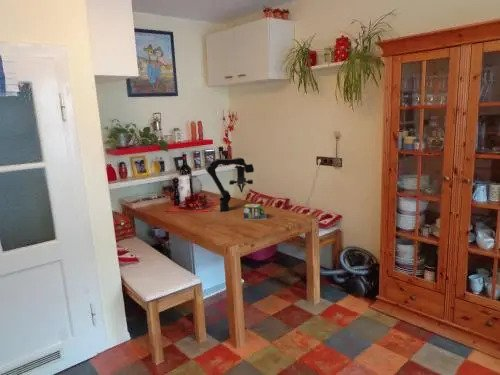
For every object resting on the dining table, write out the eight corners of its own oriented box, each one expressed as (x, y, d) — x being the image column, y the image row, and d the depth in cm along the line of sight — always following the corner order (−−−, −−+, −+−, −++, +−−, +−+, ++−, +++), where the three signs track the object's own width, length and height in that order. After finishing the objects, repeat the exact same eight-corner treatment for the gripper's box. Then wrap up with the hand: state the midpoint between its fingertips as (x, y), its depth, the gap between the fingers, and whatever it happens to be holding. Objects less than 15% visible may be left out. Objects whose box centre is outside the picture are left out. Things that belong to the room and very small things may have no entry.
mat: (244, 220, 267) (244, 219, 267) (245, 214, 282) (245, 213, 282) (266, 219, 266) (266, 219, 266) (266, 213, 281) (266, 213, 281)
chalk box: (246, 215, 278) (266, 216, 274) (243, 218, 269) (263, 219, 266) (246, 203, 276) (265, 204, 272) (243, 206, 267) (263, 207, 264)
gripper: (228, 175, 287) (229, 195, 290) (251, 174, 286) (252, 194, 289) (229, 173, 298) (230, 192, 301) (252, 172, 297) (253, 191, 300)
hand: (241, 192), depth 298 cm, fingers closed
